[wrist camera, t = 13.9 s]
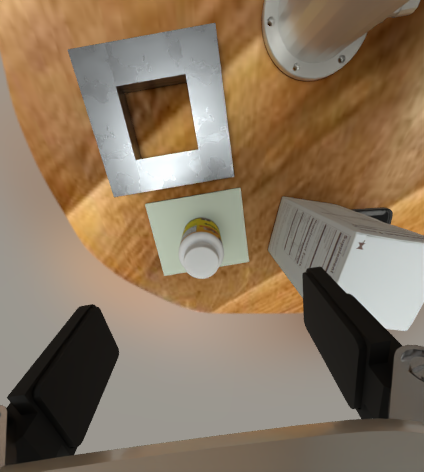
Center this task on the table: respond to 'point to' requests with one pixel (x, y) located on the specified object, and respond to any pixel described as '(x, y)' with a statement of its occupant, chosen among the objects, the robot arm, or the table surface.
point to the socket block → (147, 77)
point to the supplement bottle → (201, 248)
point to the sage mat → (203, 205)
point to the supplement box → (353, 257)
